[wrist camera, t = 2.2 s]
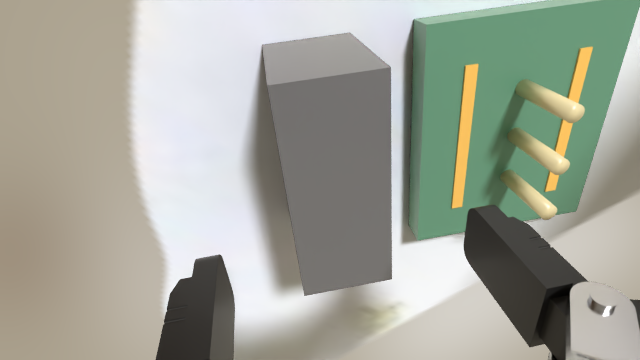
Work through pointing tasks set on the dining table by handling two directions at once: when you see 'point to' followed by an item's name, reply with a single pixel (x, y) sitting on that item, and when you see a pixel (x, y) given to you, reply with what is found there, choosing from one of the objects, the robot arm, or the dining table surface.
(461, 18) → the header board
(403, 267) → the dining table surface
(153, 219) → the dining table surface
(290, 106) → the block
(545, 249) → the robot arm
